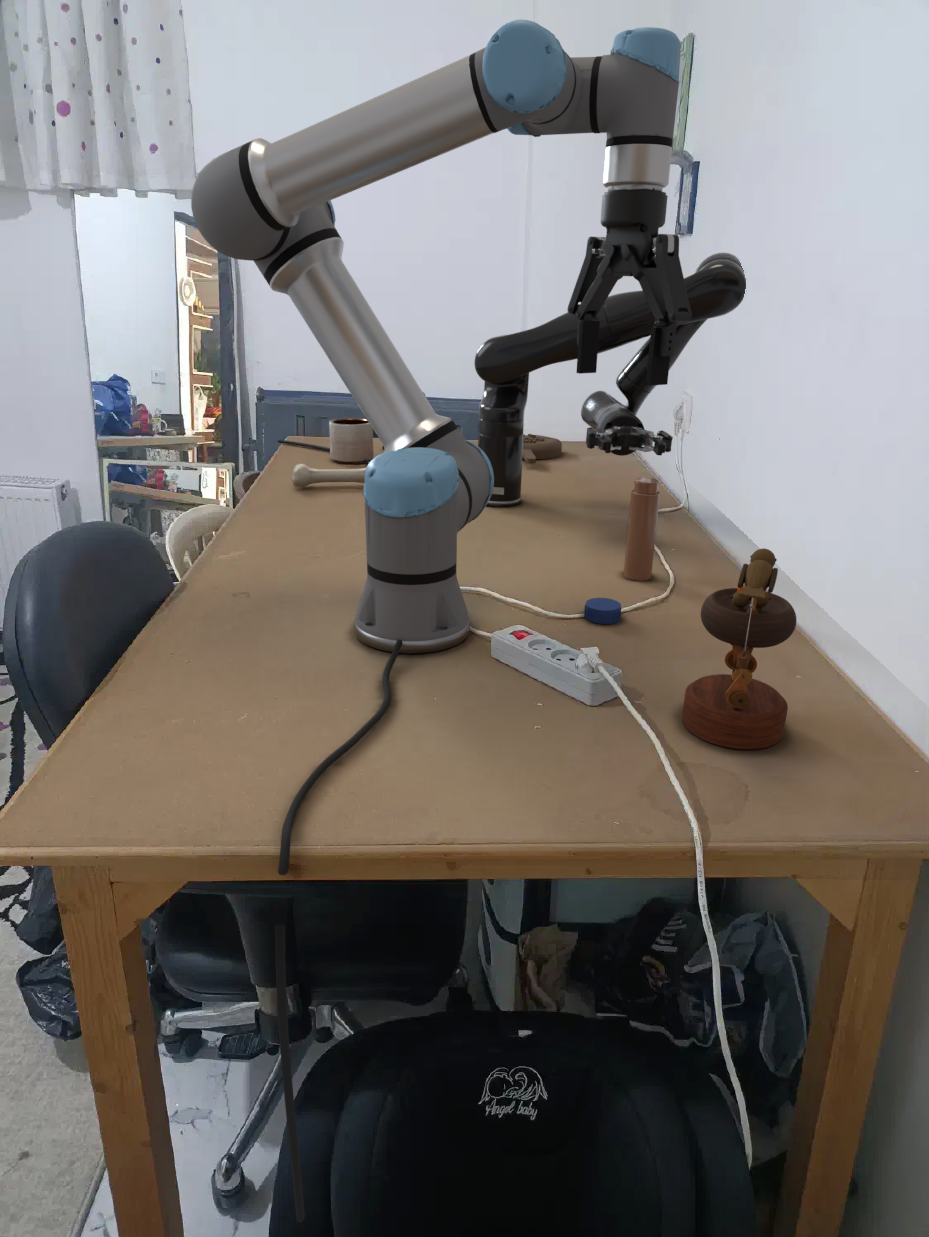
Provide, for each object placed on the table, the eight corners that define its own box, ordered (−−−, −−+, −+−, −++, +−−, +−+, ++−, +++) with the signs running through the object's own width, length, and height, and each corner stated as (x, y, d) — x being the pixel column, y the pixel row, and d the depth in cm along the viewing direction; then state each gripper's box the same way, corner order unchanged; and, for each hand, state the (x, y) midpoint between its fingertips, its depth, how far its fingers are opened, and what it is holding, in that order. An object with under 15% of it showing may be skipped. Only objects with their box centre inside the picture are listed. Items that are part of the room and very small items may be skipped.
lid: (603, 627, 115) (604, 613, 115) (576, 616, 119) (577, 602, 118) (627, 618, 118) (629, 605, 118) (600, 608, 122) (601, 594, 121)
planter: (327, 456, 217) (325, 418, 214) (369, 454, 220) (368, 417, 217) (334, 465, 208) (332, 425, 204) (377, 463, 211) (376, 424, 207)
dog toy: (383, 482, 192) (382, 460, 190) (385, 488, 186) (384, 465, 184) (292, 484, 189) (291, 461, 187) (292, 490, 183) (290, 467, 181)
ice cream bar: (488, 468, 206) (489, 451, 205) (481, 446, 232) (481, 431, 231) (574, 469, 207) (575, 452, 206) (557, 447, 233) (558, 432, 232)
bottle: (620, 571, 137) (629, 476, 131) (646, 571, 137) (656, 476, 132) (627, 581, 133) (636, 483, 127) (654, 580, 133) (665, 483, 127)
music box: (804, 761, 84) (822, 570, 76) (690, 761, 85) (697, 574, 78) (770, 691, 98) (782, 524, 90) (673, 692, 99) (677, 527, 92)
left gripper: (739, 184, 90) (714, 388, 98) (593, 198, 110) (582, 367, 118) (687, 179, 87) (665, 392, 95) (546, 195, 107) (538, 369, 115)
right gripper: (582, 407, 152) (593, 423, 137) (661, 411, 152) (681, 427, 137) (578, 449, 155) (589, 468, 140) (656, 452, 155) (675, 472, 140)
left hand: (619, 378), depth 106 cm, fingers open, 13 cm apart
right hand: (634, 448), depth 139 cm, fingers open, 8 cm apart
